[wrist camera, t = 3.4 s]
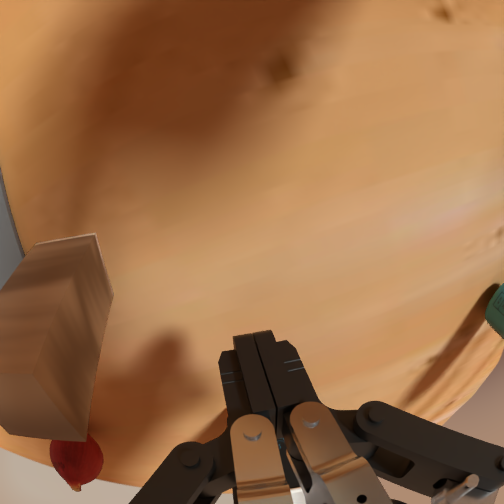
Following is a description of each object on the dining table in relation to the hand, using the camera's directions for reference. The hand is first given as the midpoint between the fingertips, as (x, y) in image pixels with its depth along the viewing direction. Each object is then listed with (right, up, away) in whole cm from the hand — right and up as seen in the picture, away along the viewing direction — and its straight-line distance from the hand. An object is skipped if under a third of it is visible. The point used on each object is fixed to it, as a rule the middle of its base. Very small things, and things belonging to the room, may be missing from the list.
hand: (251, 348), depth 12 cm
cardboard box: (-11, +3, +6) cm, 13 cm away
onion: (-18, -15, +14) cm, 27 cm away
